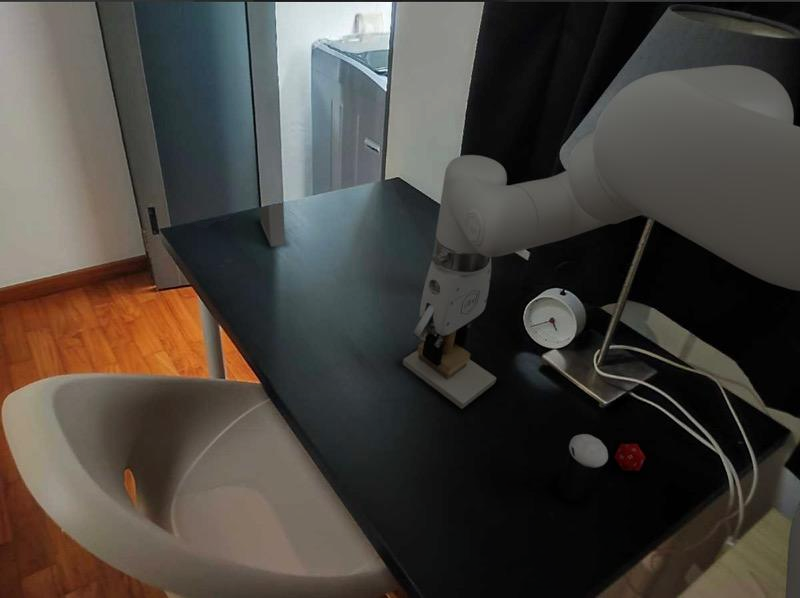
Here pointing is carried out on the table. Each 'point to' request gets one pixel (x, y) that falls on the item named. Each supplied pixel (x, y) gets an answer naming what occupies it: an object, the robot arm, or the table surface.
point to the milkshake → (581, 465)
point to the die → (629, 457)
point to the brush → (448, 357)
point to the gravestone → (273, 223)
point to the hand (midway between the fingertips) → (443, 351)
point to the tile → (453, 380)
